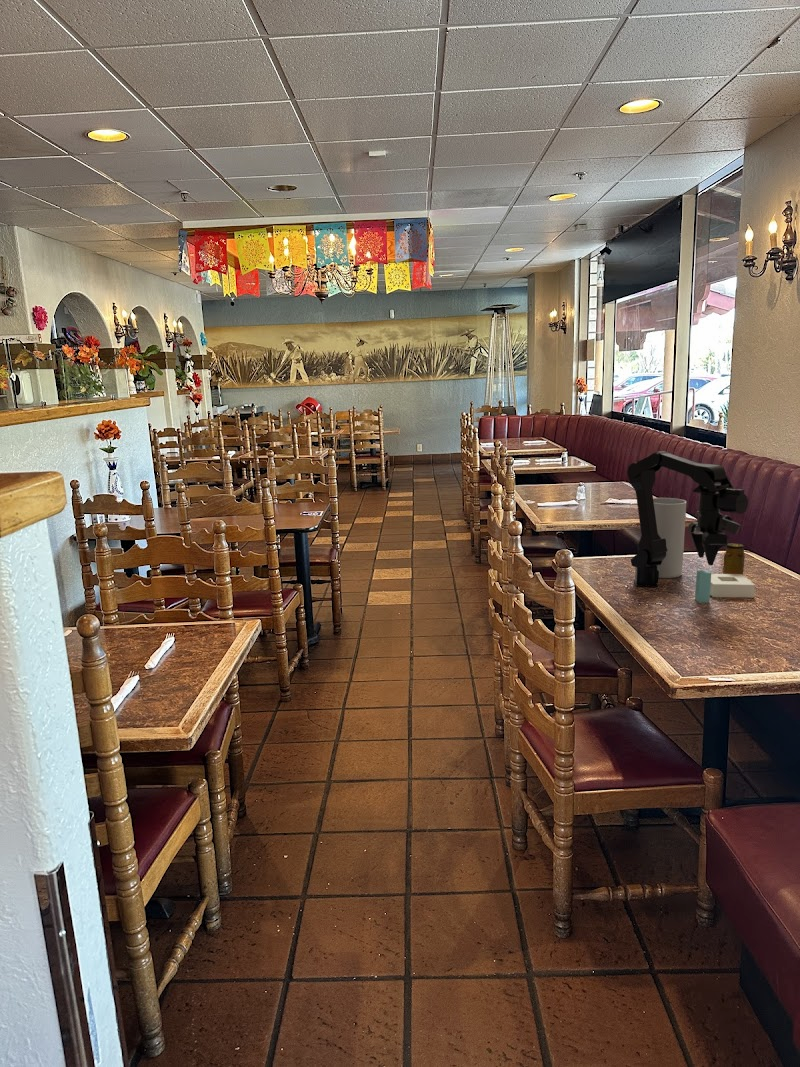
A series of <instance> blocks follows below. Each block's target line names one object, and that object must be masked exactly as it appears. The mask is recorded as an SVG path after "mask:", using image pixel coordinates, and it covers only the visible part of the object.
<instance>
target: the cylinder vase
mask: <svg viewBox="0 0 800 1067" xmlns="http://www.w3.org/2000/svg"><path fill="white" fill-rule="evenodd" d="M653 501H654V509H655V516H656V524H657V532H658V535H659V536H660V537H661V539H664V538H665V539H666V547H667V550H668V551H666V557H665V558H664V559H663V561H662V563H661V565H657V570H658V571H659V579H674V578H678V577H681V575H682V574H683V564H684V563H683V562H684V548H685V534H686V533H685V531H686V513H687V500H685V499H680V498H673V497H653Z"/></svg>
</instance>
